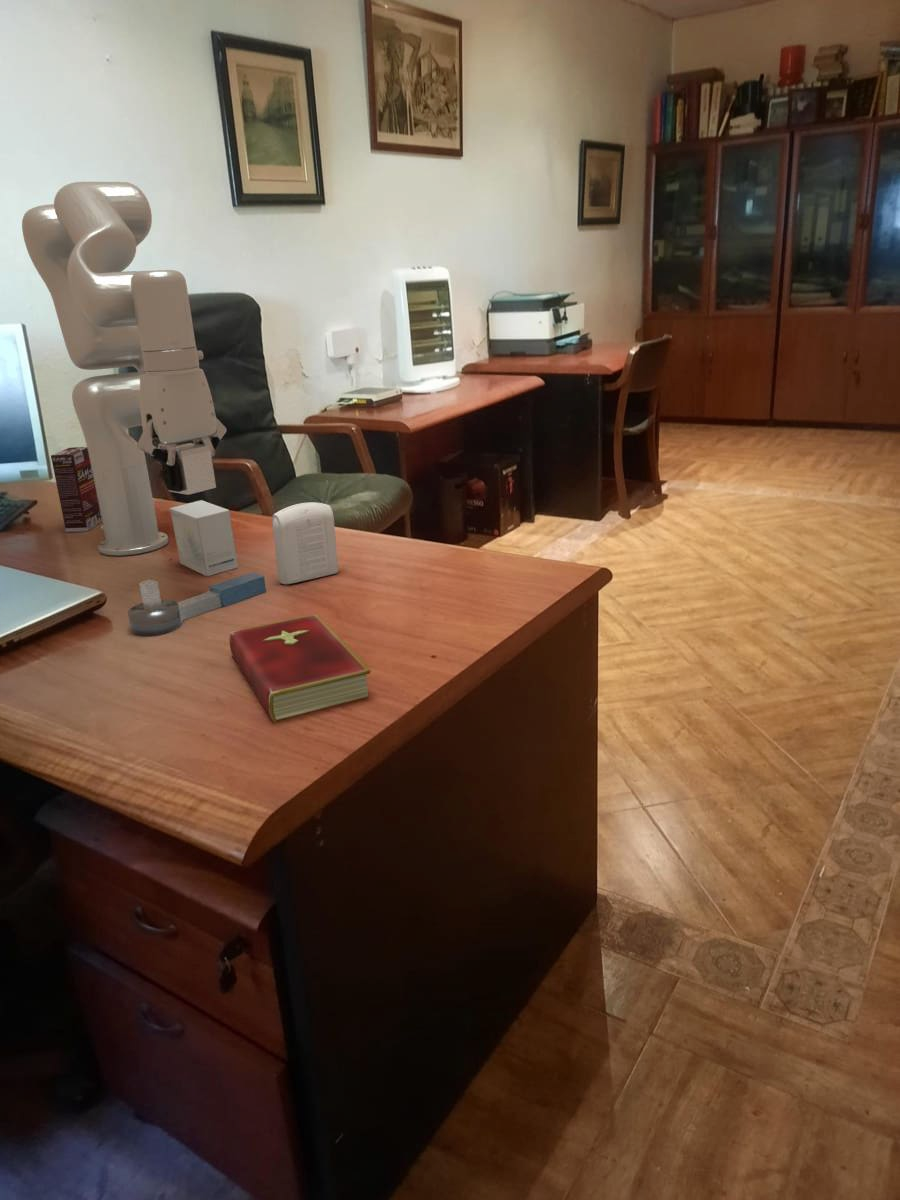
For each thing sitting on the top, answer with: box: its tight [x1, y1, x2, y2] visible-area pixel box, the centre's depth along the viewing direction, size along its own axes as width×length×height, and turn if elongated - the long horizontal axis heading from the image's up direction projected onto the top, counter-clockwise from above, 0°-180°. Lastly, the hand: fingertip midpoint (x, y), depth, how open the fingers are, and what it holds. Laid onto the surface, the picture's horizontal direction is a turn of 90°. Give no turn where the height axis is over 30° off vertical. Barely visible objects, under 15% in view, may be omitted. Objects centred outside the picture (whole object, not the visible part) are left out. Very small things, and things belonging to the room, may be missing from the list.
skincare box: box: [169, 499, 239, 577], centre depth 152 cm, size 10×6×10 cm, turn 41°
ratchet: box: [127, 572, 267, 637], centre depth 132 cm, size 7×22×7 cm, turn 139°
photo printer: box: [271, 501, 339, 585], centre depth 143 cm, size 10×4×12 cm, turn 123°
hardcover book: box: [228, 613, 371, 723], centre depth 109 cm, size 12×21×4 cm, turn 25°
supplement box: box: [50, 446, 102, 533], centre depth 181 cm, size 9×5×16 cm, turn 179°
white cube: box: [167, 442, 217, 496], centre depth 132 cm, size 5×5×6 cm
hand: (191, 485), depth 133 cm, fingers closed on white cube, 5 cm apart
